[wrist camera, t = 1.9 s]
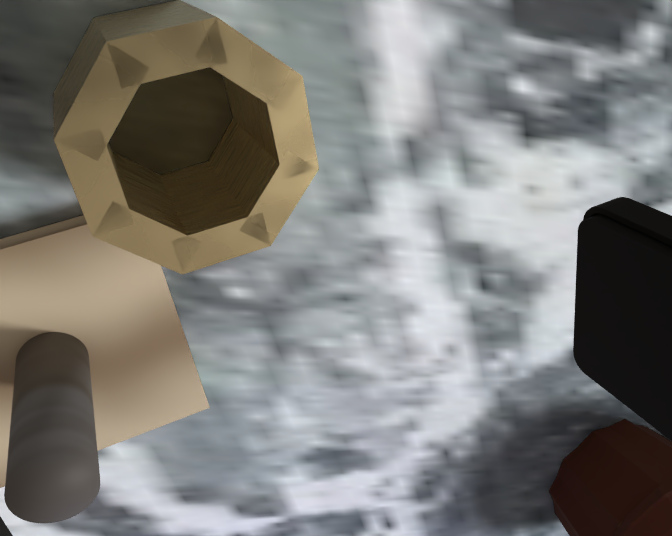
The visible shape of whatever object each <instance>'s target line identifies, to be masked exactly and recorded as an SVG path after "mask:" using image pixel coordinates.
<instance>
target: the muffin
mask: <svg viewBox="0 0 672 536" xmlns="http://www.w3.org/2000/svg"><path fill="white" fill-rule="evenodd" d="M549 493H550V495H551V497H552V499H553V502H554V509H555V514H556V515H557V517H558V518H559V520H560V521H561V523H562V525H563V526H564V528H565V529H566V531H567V532H568V534H569V535H570V536H672V442H671V441H670V440H668V439H666V438H664V437H663V436H661V435H659V434H658V433H656V432H654V431H653V430H651V429H649V428H648V427H645V426H640V425H635V424H633V423H631V422H630V421H628V420H626V419H624V420H622V421H619V422H617V423H615V424H613V425H611V426H609V427H606V428H602V429H599V430H596V431H593V432H592V433H591V434H590V435H589V436H588V437H587V438H586V439H585V440H584V441H583V442H582V443H581V444H580V445H579V446H578V447H577V448H576V449H575V450H574V451H572V452H571V453H570V454H569V455H568V456H567V457H565V458H564V459H563V461H562V464H561V466H560V469H559V472H558V475H557V477H556V479H555V480H554V482H553V484H552V486H551V488H550V490H549Z"/></svg>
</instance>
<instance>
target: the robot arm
mask: <svg viewBox="0 0 672 536" xmlns="http://www.w3.org/2000/svg"><path fill="white" fill-rule="evenodd" d="M573 352H574V358H575V361H576V363H577V365H578V366H579V368H580V369H581V370H582V371H583V372H584V373H585V374H586V375H587V376H589V377H590V378H591V379H592V380H594V381H595V382H596V383H598V384H599V385H600V386H601V387H603V388H604V389H605V390H607V391H608V392H609V393H611V394H612V395H613V396H614V397H616V398H617V399H618V400H620V401H621V402H622V403H623V404H625V405H626V406H627V407H629V408H630V409H631V410H632V411H634V412H635V413H636V414H638V415H639V416H640V417H641V418H643V419H644V420H645V421H647V422H648V423H649V424H650V425H652V426H653V427H654V428H656V429H657V430H658V431H660V432H661V433H662V434H663V435H665V436H666V437H667V438H669V439H670V440H671V441H672V216H670V215H668V214H666V213H663V212H661V211H658V210H656V209H654V208H651V207H649V206H646V205H644V204H642V203H639V202H637V201H634V200H632V199H630V198H625V197H620V198H616V199H613V200H611V201H608V202H605V203H603V204H600V205H597V206H594V207H592V208H590V209H589V210H587V212H586V213H585V215H584V219H583V221H582V222H581V223H580V225H579V228H578V245H577V271H576V296H575V322H574V348H573ZM0 536H12V534H11V533H10V531H9V529H8V528H7V526H6V525H5V523H4V522H3V520H2V518H1V517H0Z"/></svg>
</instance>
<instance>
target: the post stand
mask: <svg viewBox="0 0 672 536" xmlns="http://www.w3.org/2000/svg"><path fill="white" fill-rule="evenodd" d="M208 408H210V407H209V404H208V401H207V398H206V395H205V392H204V390H203V387H202V384H201V381H200V378H199V375H198V372H197V369H196V366H195V363H194V361H193V358H192V355H191V352H190V349H189V346H188V343H187V340H186V337H185V334H184V332H183V329H182V326H181V323H180V320H179V317H178V314H177V311H176V308H175V305H174V303H173V300H172V297H171V294H170V291H169V288H168V285H167V282H166V279H165V276H164V274H163V271H162V268H161V265H159V264H157V263H154V262H152V261H150V260H147V259H145V258H142V257H140V256H138V255H135V254H133V253H130V252H128V251H126V250H123V249H121V248H119V247H116V246H114V245H111V244H109V243H107V242H104V241H102V240H99V239H97V238H95V237H92V234H91V232H90V229H89V227H88V224H87V222H86V219H85V217H84V215H82V216H79V217H75V218H72V219H68V220H65V221H61V222H58V223H54V224H51V225H47V226H44V227H40V228H37V229H34V230H30V231H27V232H23V233H20V234H16V235H13V236H9V237H6V238H2V239H0V488H1V487H4V486H5V494H4V496H5V502H6V505H7V507H8V508H9V510H10V511H11V512H12V513H13V514H14V515H16V516H17V517H19V518H21V519H23V520H26V521H29V522H34V523H53V522H59V521H62V520H66V519H68V518H71V517H73V516H75V515H77V514H79V513H80V512H82V511H83V510H85V509H86V508H87V507H88V506H89V505H90V504H91V503H92V502H93V501H94V499H95V498H96V496H97V494H98V492H99V488H100V474H99V463H98V452H97V451H98V450H100V449H103V448H106V447H108V446H111V445H113V444H116V443H119V442H121V441H124V440H127V439H129V438H132V437H134V436H137V435H140V434H142V433H145V432H147V431H150V430H153V429H155V428H158V427H160V426H163V425H166V424H168V423H171V422H174V421H176V420H179V419H181V418H184V417H187V416H189V415H192V414H194V413H197V412H200V411H202V410H205V409H208Z"/></svg>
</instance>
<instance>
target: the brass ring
mask: <svg viewBox="0 0 672 536" xmlns="http://www.w3.org/2000/svg"><path fill="white" fill-rule="evenodd" d="M209 67H211V68H212V69H214V70H215V71H217V72H218V73H220V74H222V76H223V80H224V84H225V88H226V92H227V96H228V100H229V104H230V109H231V113H232V117H233V120H232V121H231V123H230V125H229V126H228V128H227V130H226V132H225V133H224V135H223V137H222V138H221V140H220V142H219V143H218V145H217V147H216V148H215V150H214V152H213V154H212V155H211V157H210V159H209V160H208V161H207V162H204V163H200V164H196V165H193V166H189V167H186V168H182V169H179V170H175V171H172V172H168V173H164V174H161V175H159V174H157V173H155V172H153V171H151V170H149V169H147V168H145V167H143V166H141V165H139V164H137V163H135V162H133V161H131V160H129V159H127V158H125V157H123V156H121V155H119V154H117V153H115V152H113V151H112V149H111V146H110V143H109V140H110V138H111V136H112V135H113V133H114V131H115V129H116V127H117V126H118V124H119V122H120V120H121V118H122V117H123V115H124V113H125V111H126V109H127V108H128V106H129V104H130V102H131V100H132V98H133V97H134V95H135V93H136V91H137V89H138V88H139V86H140V84H143V83H147V82H151V81H155V80H159V79H163V78H167V77H171V76H176V75H180V74H184V73H188V72H192V71H196V70H200V69H204V68H209ZM53 112H54V141H55V144H56V146H57V149H58V151H59V154H60V156H61V159H62V161H63V164H64V166H65V169H66V171H67V174H68V176H69V179H70V181H71V184H72V186H73V189H74V192H75V194H76V197H77V199H78V202H79V204H80V207H81V209H82V212H83V214H84V217H85V219H86V222H87V224H88V227H89V229H90V232H91V234H92V237H95V238H97V239H99V240H102V241H104V242H107V243H109V244H111V245H114V246H116V247H119V248H121V249H123V250H126V251H128V252H130V253H133V254H135V255H138V256H140V257H142V258H145V259H147V260H150V261H152V262H154V263H157V264H159V265H161V266H164V267H166V268H169V269H171V270H173V271H176V272H178V273H180V274H185V273H188V272H191V271H194V270H197V269H201V268H204V267H207V266H210V265H213V264H216V263H219V262H222V261H225V260H228V259H231V258H234V257H238V256H241V255H244V254H247V253H250V252H253V251H256V250H259V249H262V248H265V247H268V246H271V244H272V243H273V241H274V240H275V238H276V236H277V235H278V233H279V232H280V230H281V229H282V227H283V225H284V224H285V222H286V221H287V219H288V217H289V216H290V214H291V213H292V211H293V209H294V208H295V206H296V205H297V203H298V202H299V200H300V198H301V197H302V195H303V194H304V192H305V190H306V189H307V187H308V186H309V184H310V183H311V181H312V179H313V178H314V176H315V175H316V173H317V171H318V170H319V167H318V161H317V155H316V150H315V144H314V139H313V133H312V127H311V122H310V116H309V110H308V105H307V99H306V94H305V88H304V82H303V77H302V76H301V75H300V74H299V73H297V72H296V71H294V70H293V69H291V68H290V67H288V66H287V65H285V64H284V63H283V62H281V61H280V60H278V59H277V58H275V57H274V56H272V55H271V54H270V53H268V52H267V51H265V50H264V49H262V48H261V47H259V46H258V45H257V44H255V43H254V42H252V41H251V40H249V39H248V38H246V37H245V36H243V35H242V34H241V33H239V32H238V31H236V30H235V29H233V28H232V27H230V26H229V25H228V24H226V23H225V22H223V21H222V20H220V19H219V18H217V17H216V16H213V15H211V14H209V13H207V12H205V11H203V10H200V9H198V8H196V7H194V6H192V5H190V4H187V3H185V2H183V1H181V0H175V1H170V2H165V3H160V4H156V5H151V6H146V7H142V8H137V9H132V10H127V11H123V12H118V13H113V14H108V15H104V16H99V17H94V18H93V19H92V21H91V23H90V25H89V27H88V29H87V31H86V33H85V35H84V36H83V38H82V40H81V42H80V44H79V46H78V48H77V50H76V52H75V54H74V55H73V57H72V59H71V61H70V63H69V65H68V67H67V69H66V71H65V73H64V74H63V76H62V78H61V80H60V82H59V84H58V86H57V88H56V90H55V92H54V93H53Z"/></svg>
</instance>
